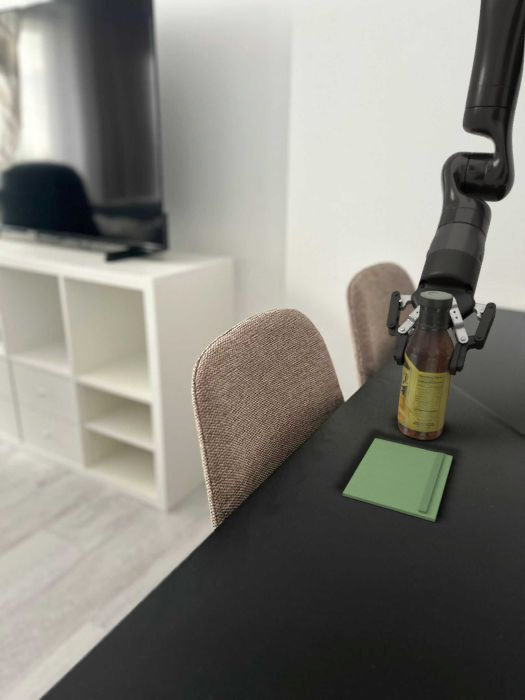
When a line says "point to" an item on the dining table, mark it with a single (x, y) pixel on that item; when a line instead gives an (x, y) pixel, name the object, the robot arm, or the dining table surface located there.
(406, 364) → the sauce bottle
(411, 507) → the green notebook
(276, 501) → the dining table surface
